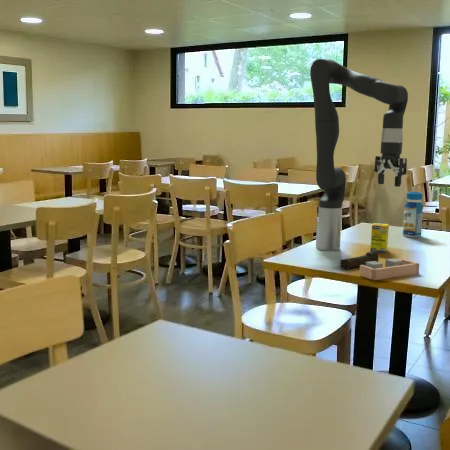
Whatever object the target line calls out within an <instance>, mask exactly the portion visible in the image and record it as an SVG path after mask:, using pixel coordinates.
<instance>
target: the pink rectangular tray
mask: <svg viewBox="0 0 450 450" xmlns="http://www.w3.org/2000/svg"><path fill="white" fill-rule="evenodd" d="M401 261H402V265H399V266H392V267H385V266H384V267H383V268H377V269H373V268H370V267H367V266H365V265H360V266H359V276H361V277H363V278H365V279H368V280H371V281H377V280H384V279H391V278H399V277H405V276H410V275H418V274H419V271H420V263H418V262H415V261H412V260H408V259H406V258H404V259H402V260H401Z"/></svg>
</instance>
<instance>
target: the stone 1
mask: <svg viewBox="0 0 450 450" xmlns="http://www.w3.org/2000/svg"><path fill="white" fill-rule="evenodd" d="M383 265H384V263H383V262H380V261H378V262H376V261H371V262H366V264H365V265H364V266H367V267H370V268H373V269H377V268H384V267H383Z"/></svg>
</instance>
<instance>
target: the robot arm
mask: <svg viewBox="0 0 450 450" xmlns="http://www.w3.org/2000/svg"><path fill="white" fill-rule="evenodd" d="M309 71H310V72H309V74H310V75H309V76H310V83H311V89H312V94H313V95H312V96H313V103H314V104H313V107H314V125H315V129H314V130H315V137H316V140H315V141H316V142H315V143H316V169H315V170H316V171H315V173H316V174H315V177H316V178H315V179H316V185H317V186H318V188H319V189H320V190H321V191H323V192H324V193H323V195H322V197H320V199H319V201H318V213H317V214H318V218H317V219H318V220H317V224H316V236H315V237H316V239H315V247H316V248H317V249H318V250H322V251H327V252H330V251H332V252H333V251H334V252H335V251H340V250H341V236H342V215H343V213H342V212H343V211H342V210H343V209H342V208H343V203H344V200H345V197H346V196H345V195H346V194H345V193H346V184H347V181H346V178H347V177H346V174H345V171H344V170H343V169H342V168H341V167H339V166H335V160H334V158H335V157H334V156H335V150H336V146H337V143H338V140H339V137H340V124H339V123H340V120H339V114H338V111H337V109H336V106H335V104H334V102H333V99H332V96H331V93H330V84H335V85H339V86H340V85H341V86H345V87H346V88H347V87H348V88H349V89H351V90H352V91H354V92H356V93H357V94H358V93H359V94H361V95H364V96H366V97H369V98H372V99H374V100H376V101H379V102H381V103H383V104H385V105H388V109H387V112H384V114H383V118H382V131H381V136H380V137H381V138H380V155H376V156H375V158H374V169H373V171H374V172H375V173H376V174H377V183H378V185H384V183H385V173H386V171H388V169H389V170H391V171H392V172H394V186H393V187H401V185H402V176H405V175H407V168H408V167H407V166H408V165H407V164H408V163H407V162H408V158H407V157H401V155H402V153H403V141H404V140H403V139H404V131H403V126H404V116H405V112H406V109H407V105H408V102H409V93H408V90H407V88H406V87H405V86H403V85H401V84H400V85H399V84H392V83H388V82H385V81H383V80H382V79H380V78H377V77H374V76H370V75H367V74H364V73H361V72H357V71H354V70H352V69H349V68H348V67H345V66H344V65H342V64H340V63H339V62H337V61H336V60H333V59H327V58H316V59H315V60H314V61H313V62H312V64H311V66H310V69H309Z"/></svg>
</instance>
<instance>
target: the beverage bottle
mask: <svg viewBox="0 0 450 450" xmlns="http://www.w3.org/2000/svg"><path fill="white" fill-rule="evenodd" d="M423 196H424V195H423V192H420V191H408V192H407V193H406V200H407V201H406V202H405V204H404V211H403V228H402V235H403V236H404V237H407V238H420V237H422V227H423V225H422V224H423V216H424V212H423V210H424V206H423V203H422V200H423Z"/></svg>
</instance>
